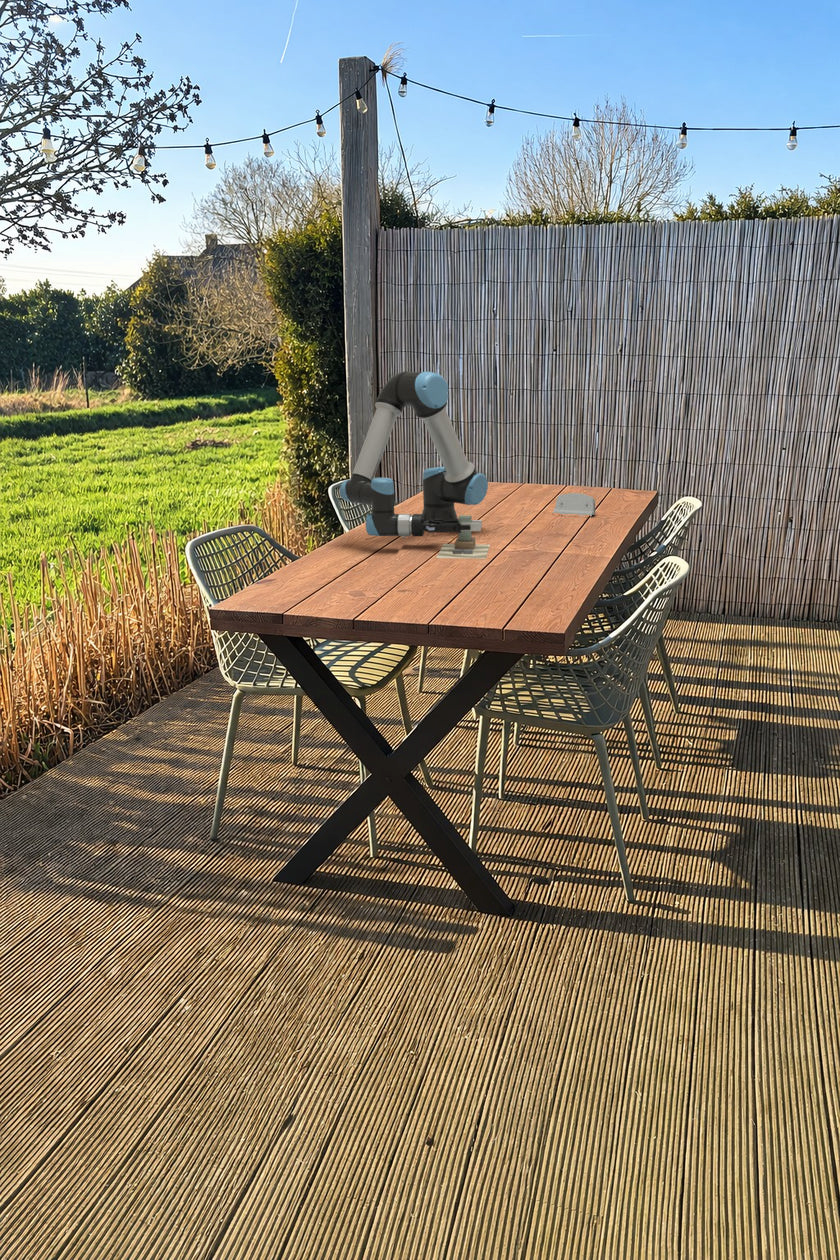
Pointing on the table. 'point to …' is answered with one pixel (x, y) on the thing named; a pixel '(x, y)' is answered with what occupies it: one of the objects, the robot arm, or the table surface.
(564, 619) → the table surface
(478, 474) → the robot arm
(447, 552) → the board
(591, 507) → the hinge
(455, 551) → the mark tile
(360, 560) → the table surface
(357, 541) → the table surface
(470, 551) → the mark tile
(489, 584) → the table surface
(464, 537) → the block
